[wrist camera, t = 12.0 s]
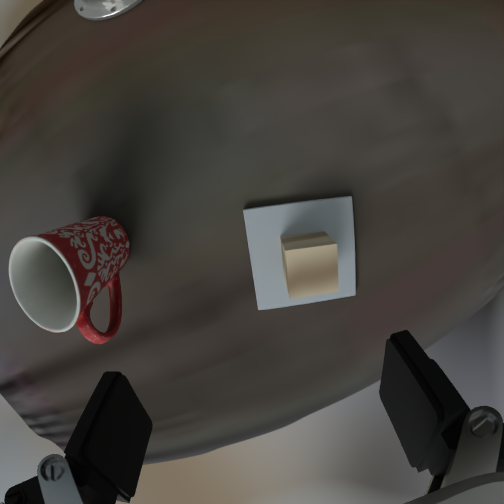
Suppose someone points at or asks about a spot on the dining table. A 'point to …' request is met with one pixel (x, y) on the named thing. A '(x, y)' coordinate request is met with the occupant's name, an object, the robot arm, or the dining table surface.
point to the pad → (294, 223)
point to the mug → (71, 275)
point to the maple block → (309, 264)
